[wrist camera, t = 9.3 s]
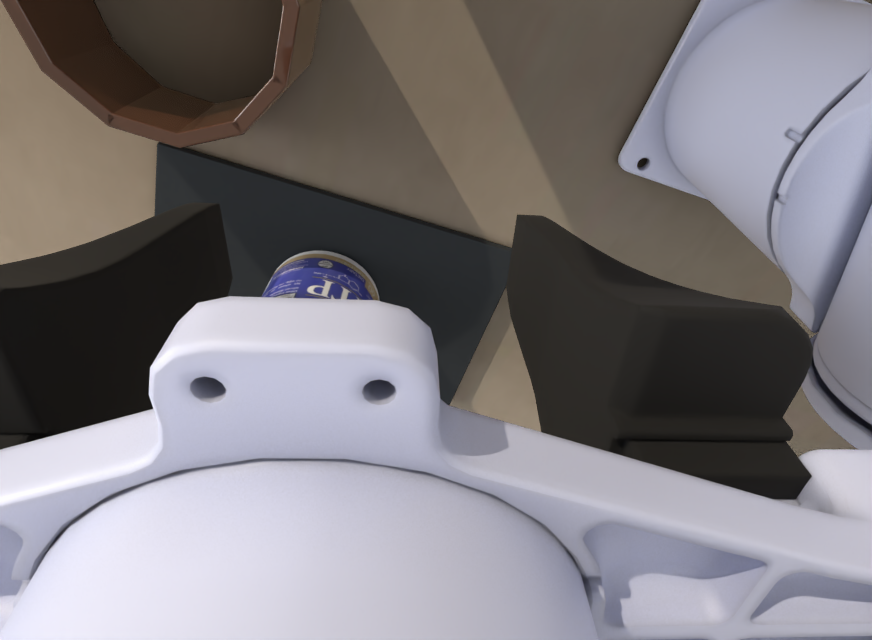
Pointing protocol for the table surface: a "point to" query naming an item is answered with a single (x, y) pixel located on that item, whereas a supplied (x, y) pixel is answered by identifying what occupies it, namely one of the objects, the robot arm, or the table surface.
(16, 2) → the brown bowl
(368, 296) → the pill bottle
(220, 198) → the mat
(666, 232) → the table surface
